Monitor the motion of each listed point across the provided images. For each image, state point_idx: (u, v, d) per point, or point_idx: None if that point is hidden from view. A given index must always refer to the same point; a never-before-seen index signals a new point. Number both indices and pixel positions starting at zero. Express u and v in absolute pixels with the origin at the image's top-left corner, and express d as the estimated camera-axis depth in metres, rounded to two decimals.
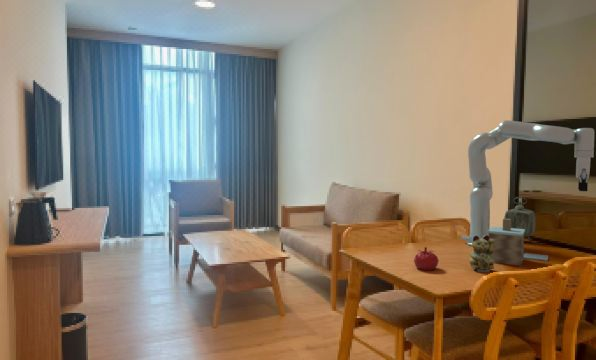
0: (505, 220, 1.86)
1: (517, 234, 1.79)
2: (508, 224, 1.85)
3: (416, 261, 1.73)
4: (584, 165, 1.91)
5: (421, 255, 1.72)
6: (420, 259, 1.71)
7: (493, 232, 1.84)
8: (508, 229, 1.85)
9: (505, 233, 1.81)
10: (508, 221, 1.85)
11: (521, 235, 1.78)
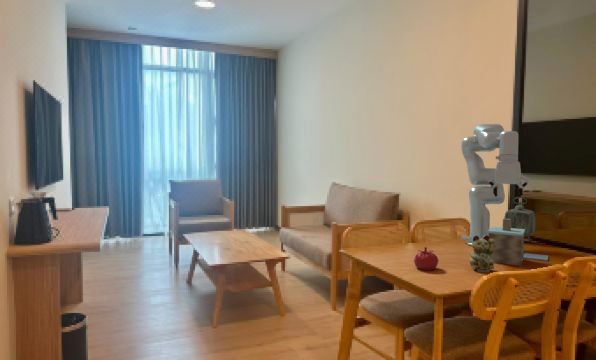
0: (505, 220, 1.86)
1: (517, 234, 1.79)
2: (508, 224, 1.85)
3: (416, 261, 1.73)
4: (520, 170, 1.83)
5: (421, 255, 1.72)
6: (420, 259, 1.71)
7: (493, 232, 1.84)
8: (508, 229, 1.85)
9: (505, 233, 1.81)
10: (508, 221, 1.85)
11: (521, 235, 1.78)
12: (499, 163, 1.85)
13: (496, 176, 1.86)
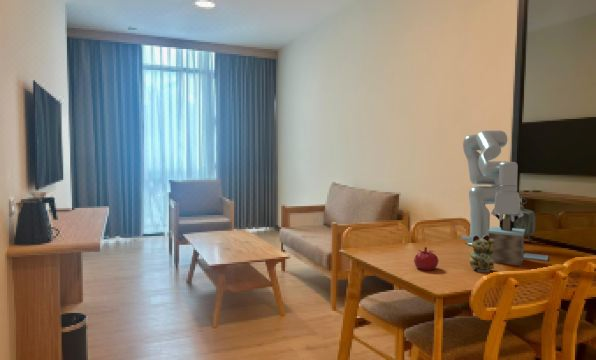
0: (505, 220, 1.86)
1: (517, 234, 1.79)
2: (508, 224, 1.85)
3: (416, 261, 1.73)
4: (519, 201, 1.84)
5: (421, 255, 1.72)
6: (420, 259, 1.71)
7: (493, 232, 1.84)
8: (508, 229, 1.85)
9: (505, 233, 1.81)
10: (508, 221, 1.85)
11: (521, 235, 1.78)
12: (498, 193, 1.86)
13: (495, 206, 1.87)
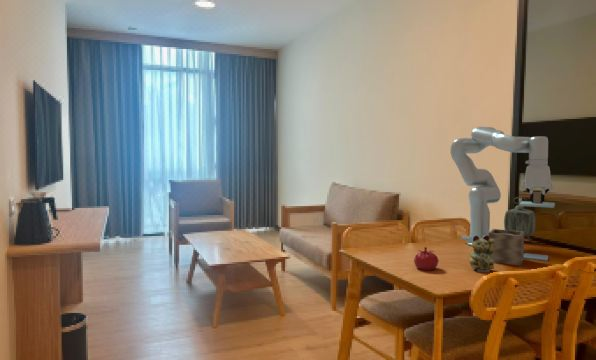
0: (536, 193, 1.90)
1: (549, 206, 1.83)
2: (539, 197, 1.90)
3: (416, 261, 1.73)
4: None
5: (421, 255, 1.72)
6: (420, 259, 1.71)
7: (524, 205, 1.88)
8: (539, 202, 1.90)
9: (536, 205, 1.86)
10: (539, 194, 1.90)
11: (553, 207, 1.82)
12: (529, 167, 1.91)
13: (526, 180, 1.91)
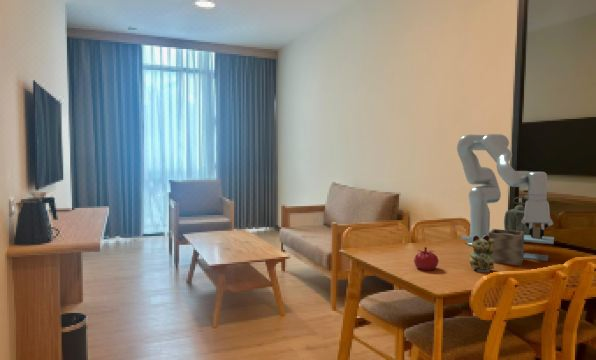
0: (535, 228, 1.91)
1: (548, 242, 1.84)
2: (538, 232, 1.90)
3: (416, 261, 1.73)
4: None
5: (421, 255, 1.72)
6: (420, 259, 1.71)
7: (524, 240, 1.89)
8: (538, 237, 1.91)
9: (536, 241, 1.86)
10: (538, 229, 1.90)
11: (552, 243, 1.83)
12: (528, 202, 1.91)
13: (525, 215, 1.92)
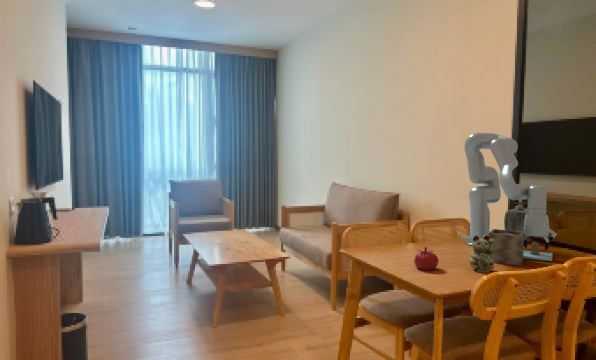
0: (534, 245, 1.92)
1: (547, 259, 1.85)
2: (537, 249, 1.91)
3: (416, 261, 1.73)
4: (548, 223, 1.90)
5: (421, 255, 1.72)
6: (420, 259, 1.71)
7: (523, 256, 1.90)
8: (537, 253, 1.91)
9: (535, 258, 1.87)
10: (537, 246, 1.91)
11: (551, 260, 1.84)
12: (528, 216, 1.92)
13: (525, 228, 1.93)
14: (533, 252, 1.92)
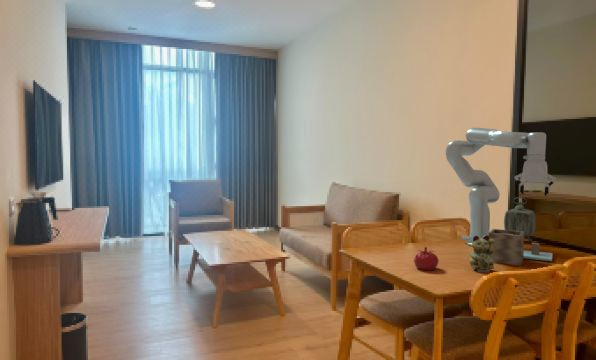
0: (534, 245, 1.92)
1: (547, 259, 1.85)
2: (537, 249, 1.91)
3: (416, 261, 1.73)
4: None
5: (421, 255, 1.72)
6: (420, 259, 1.71)
7: (523, 256, 1.90)
8: (537, 253, 1.91)
9: (535, 258, 1.87)
10: (537, 246, 1.91)
11: (551, 260, 1.84)
12: (527, 163, 1.95)
13: (523, 175, 1.96)
14: (533, 252, 1.92)
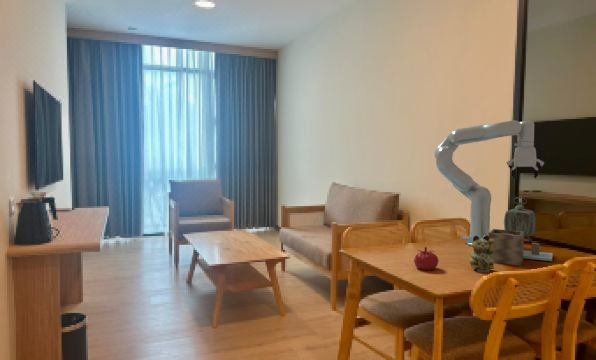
0: (534, 245, 1.92)
1: (547, 259, 1.85)
2: (537, 249, 1.91)
3: (416, 261, 1.73)
4: None
5: (421, 255, 1.72)
6: (420, 259, 1.71)
7: (523, 256, 1.90)
8: (537, 253, 1.91)
9: (535, 258, 1.87)
10: (537, 246, 1.91)
11: (551, 260, 1.84)
12: (517, 149, 2.15)
13: (515, 160, 2.15)
14: (533, 252, 1.92)
